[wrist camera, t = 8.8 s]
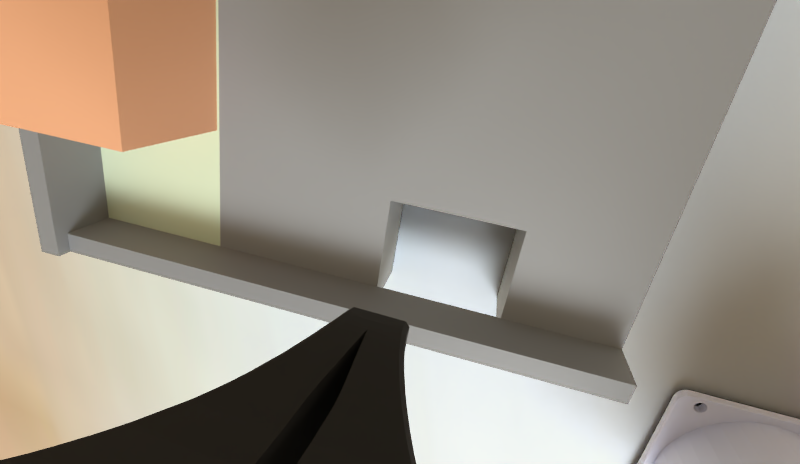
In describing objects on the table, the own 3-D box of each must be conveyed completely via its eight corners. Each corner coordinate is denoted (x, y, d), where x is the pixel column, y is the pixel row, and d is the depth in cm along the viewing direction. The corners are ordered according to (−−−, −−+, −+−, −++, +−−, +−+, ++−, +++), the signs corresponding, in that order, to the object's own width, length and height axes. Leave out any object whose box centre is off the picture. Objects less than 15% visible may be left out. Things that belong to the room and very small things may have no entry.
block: (215, -2, 15) (104, -27, 11) (217, 130, 16) (121, 151, 12) (102, -21, 15) (-44, -51, 11) (115, 108, 17) (-8, 122, 13)
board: (779, -122, 13) (955, -242, 8) (598, 323, 19) (631, 415, 14) (113, -188, 16) (-64, -302, 11) (145, 209, 22) (42, 251, 17)
